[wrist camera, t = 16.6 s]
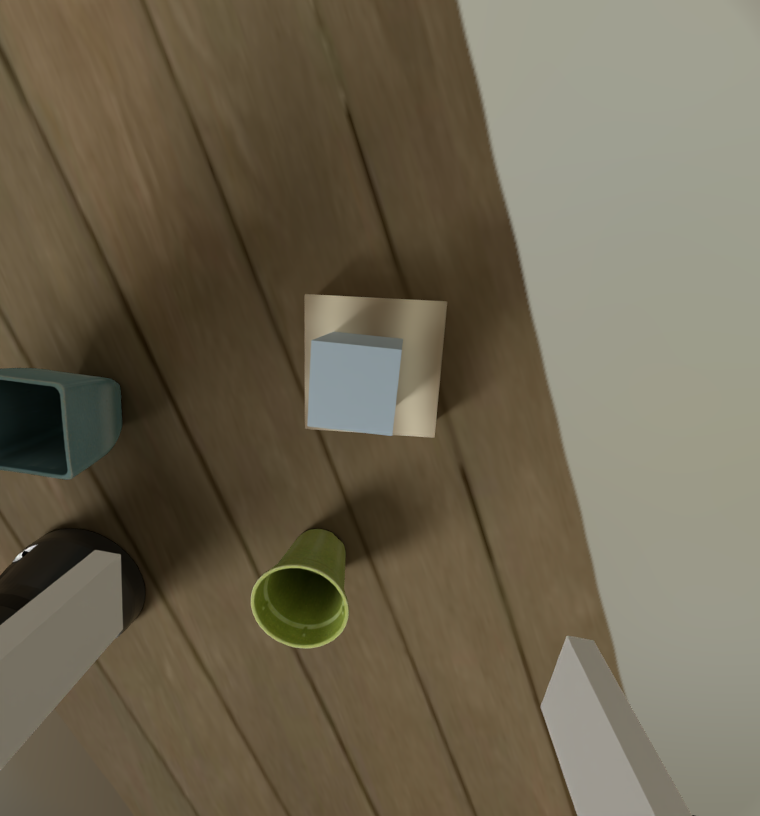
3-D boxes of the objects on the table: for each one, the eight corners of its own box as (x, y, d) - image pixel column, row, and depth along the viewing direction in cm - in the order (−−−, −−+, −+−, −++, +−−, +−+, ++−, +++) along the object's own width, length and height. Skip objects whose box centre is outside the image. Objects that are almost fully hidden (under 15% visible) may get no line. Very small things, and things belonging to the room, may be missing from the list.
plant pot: (282, 582, 46) (254, 645, 37) (277, 512, 43) (246, 563, 35) (359, 587, 45) (349, 651, 37) (359, 516, 42) (348, 568, 34)
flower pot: (55, 355, 40) (-42, 369, 31) (137, 366, 39) (61, 383, 31) (64, 434, 42) (-24, 467, 34) (141, 444, 42) (72, 481, 33)
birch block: (316, 413, 40) (304, 428, 35) (317, 295, 37) (304, 294, 32) (430, 421, 39) (434, 437, 35) (441, 301, 36) (447, 301, 31)
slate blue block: (329, 398, 34) (307, 426, 27) (333, 331, 33) (311, 340, 25) (395, 405, 34) (392, 436, 26) (403, 338, 32) (401, 349, 25)
